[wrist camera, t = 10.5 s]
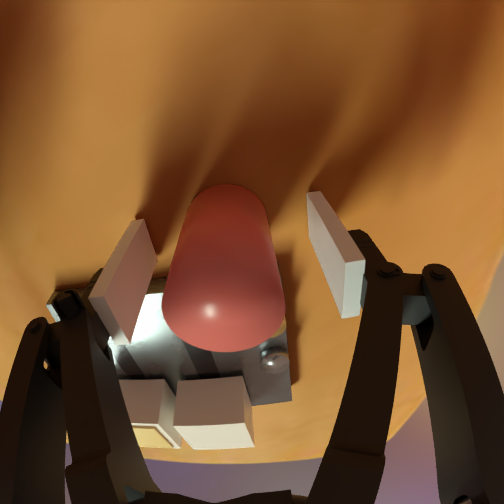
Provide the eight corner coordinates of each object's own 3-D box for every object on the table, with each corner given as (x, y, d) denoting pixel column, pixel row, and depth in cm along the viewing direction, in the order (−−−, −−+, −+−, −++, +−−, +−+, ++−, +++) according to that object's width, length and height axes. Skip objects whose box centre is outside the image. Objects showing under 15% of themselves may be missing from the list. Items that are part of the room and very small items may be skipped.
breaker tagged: (109, 379, 21) (98, 422, 18) (164, 379, 21) (157, 426, 18) (134, 408, 24) (127, 447, 20) (184, 409, 24) (180, 450, 20)
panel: (53, 291, 18) (41, 312, 17) (277, 261, 18) (282, 285, 16) (127, 397, 26) (123, 416, 24) (289, 387, 26) (293, 408, 24)
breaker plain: (177, 380, 21) (172, 426, 18) (242, 375, 21) (244, 422, 18) (195, 410, 24) (193, 449, 21) (251, 406, 24) (254, 446, 20)
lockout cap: (177, 192, 15) (144, 271, 9) (261, 177, 15) (280, 252, 9) (196, 261, 18) (181, 356, 12) (271, 250, 18) (289, 344, 12)
